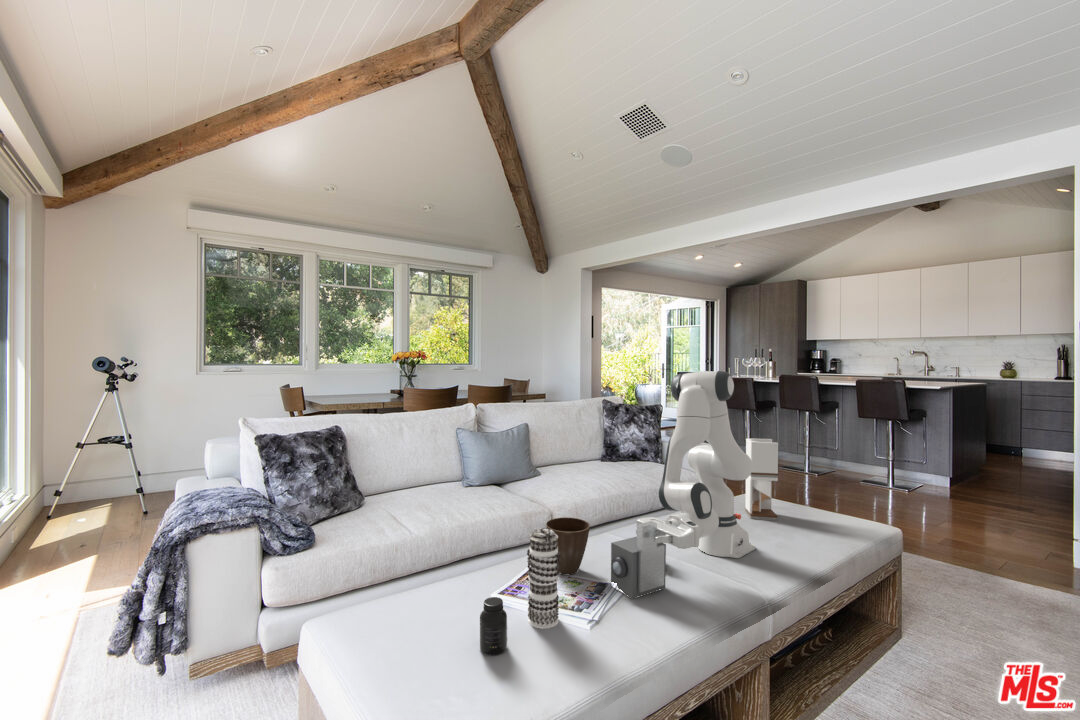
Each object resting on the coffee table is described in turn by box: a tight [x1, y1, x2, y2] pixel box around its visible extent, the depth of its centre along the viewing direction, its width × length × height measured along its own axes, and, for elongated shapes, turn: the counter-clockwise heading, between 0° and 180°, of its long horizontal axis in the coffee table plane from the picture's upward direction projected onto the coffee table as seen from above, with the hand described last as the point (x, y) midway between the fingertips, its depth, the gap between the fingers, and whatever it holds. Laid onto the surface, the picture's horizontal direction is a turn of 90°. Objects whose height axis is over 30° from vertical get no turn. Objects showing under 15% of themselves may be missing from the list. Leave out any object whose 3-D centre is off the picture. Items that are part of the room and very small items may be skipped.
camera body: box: [610, 536, 667, 599], centre depth 164 cm, size 16×10×14 cm, turn 122°
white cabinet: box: [744, 438, 779, 521], centre depth 240 cm, size 11×11×35 cm
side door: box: [636, 521, 665, 593], centre depth 160 cm, size 10×2×20 cm, turn 122°
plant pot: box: [545, 516, 591, 576], centre depth 177 cm, size 15×15×16 cm
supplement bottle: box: [479, 596, 508, 656], centre depth 130 cm, size 7×7×12 cm
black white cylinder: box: [526, 527, 560, 630], centre depth 144 cm, size 9×9×25 cm
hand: (646, 536), depth 159 cm, fingers open, 6 cm apart
